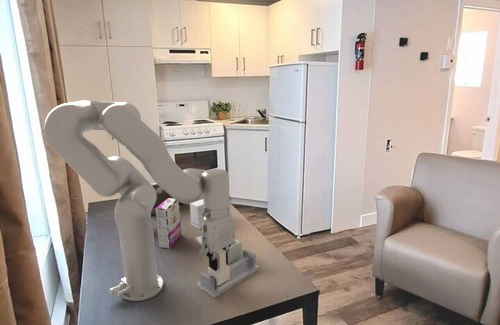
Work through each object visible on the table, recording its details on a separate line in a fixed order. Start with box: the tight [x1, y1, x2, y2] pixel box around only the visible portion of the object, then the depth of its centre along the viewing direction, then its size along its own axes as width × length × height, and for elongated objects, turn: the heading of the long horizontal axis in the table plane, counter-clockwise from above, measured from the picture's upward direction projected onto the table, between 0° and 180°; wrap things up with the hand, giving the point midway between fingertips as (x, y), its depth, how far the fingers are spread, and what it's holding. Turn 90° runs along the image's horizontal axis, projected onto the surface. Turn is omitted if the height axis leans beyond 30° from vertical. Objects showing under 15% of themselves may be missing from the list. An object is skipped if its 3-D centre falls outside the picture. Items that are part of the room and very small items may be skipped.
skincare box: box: [189, 198, 204, 230], centre depth 145 cm, size 10×6×10 cm, turn 135°
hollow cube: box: [227, 238, 243, 265], centre depth 115 cm, size 7×7×7 cm
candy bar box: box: [155, 198, 182, 249], centre depth 128 cm, size 11×5×16 cm, turn 168°
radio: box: [150, 182, 188, 216], centre depth 160 cm, size 23×9×15 cm, turn 126°
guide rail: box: [197, 248, 260, 299], centre depth 105 cm, size 20×8×5 cm, turn 137°
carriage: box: [207, 249, 230, 286], centre depth 101 cm, size 5×4×10 cm
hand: (218, 265), depth 101 cm, fingers open, 3 cm apart
